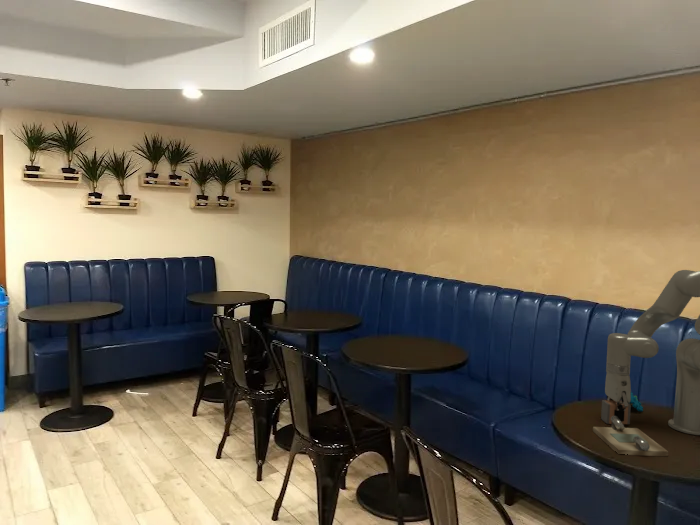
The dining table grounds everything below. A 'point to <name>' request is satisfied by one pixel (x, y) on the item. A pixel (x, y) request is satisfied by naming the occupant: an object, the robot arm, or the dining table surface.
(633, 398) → the gear
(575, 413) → the dining table surface
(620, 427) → the shaft angled
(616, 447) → the base
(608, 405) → the orange and grey block
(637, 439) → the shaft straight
